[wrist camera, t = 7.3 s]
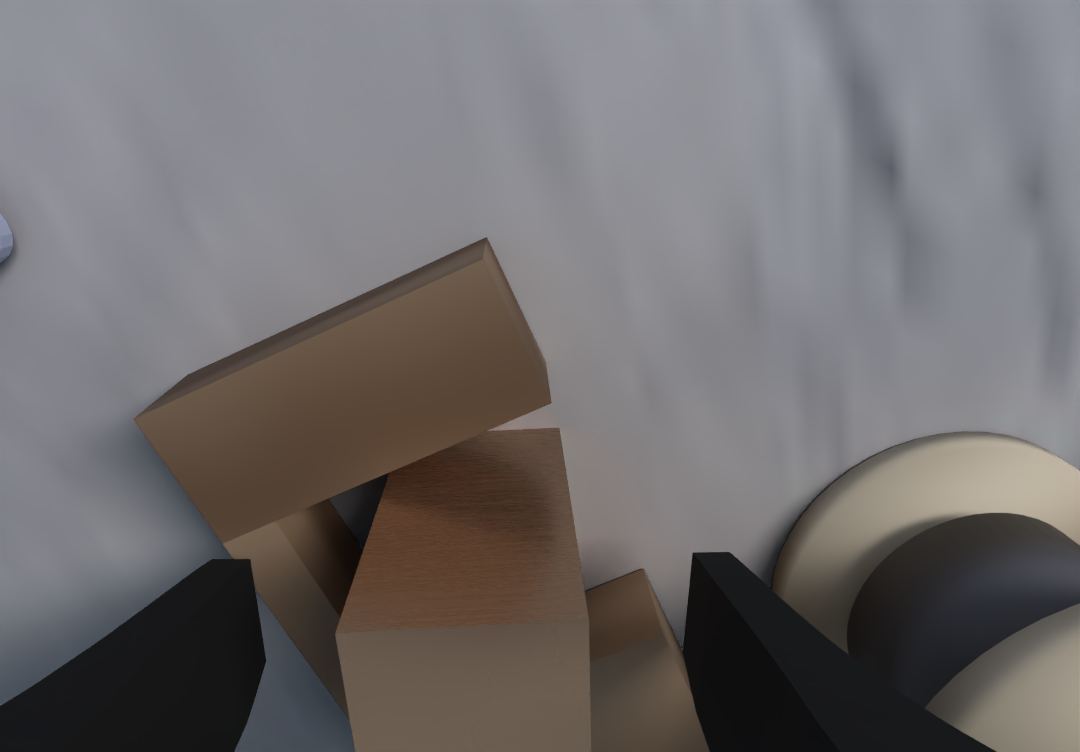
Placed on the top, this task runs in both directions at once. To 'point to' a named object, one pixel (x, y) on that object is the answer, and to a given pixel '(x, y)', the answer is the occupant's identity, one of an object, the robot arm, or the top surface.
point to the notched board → (393, 467)
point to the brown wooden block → (471, 606)
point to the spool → (953, 582)
